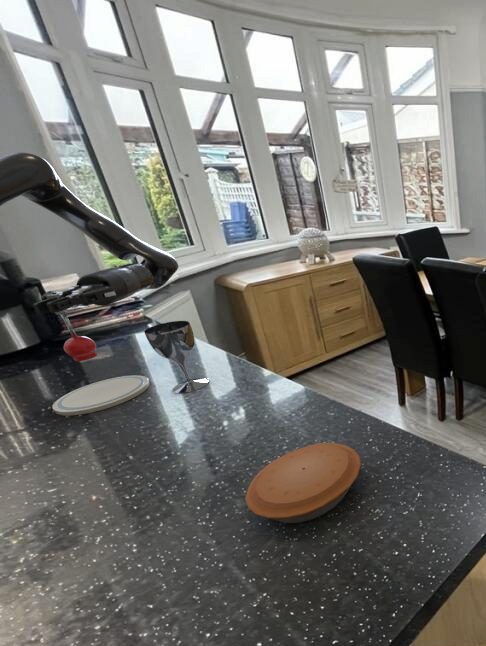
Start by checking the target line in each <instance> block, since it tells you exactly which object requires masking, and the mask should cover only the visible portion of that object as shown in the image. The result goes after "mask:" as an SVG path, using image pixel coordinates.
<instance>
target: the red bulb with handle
mask: <svg viewBox="0 0 486 646" xmlns="http://www.w3.org/2000/svg"><path fill="white" fill-rule="evenodd" d="M46 296H47V298H48V300H49V302H51V301H54V300H57V299H60V298H61V297H60V295H59V294H50V295H46ZM67 313H69V310H68V309H65V310H63V311H60V312H57V313H55V315H58V314H59V315H60V317H61V318H62V320H63V322H64V324H65V326H66V328H67V330H68V331H69V334H70V335H71V337H70V338H69V339H67V340H66V341H65V342H64V344H63V350H64V353H66V355H68V356H70V357H72V359H73V361H74V362H83V361H88V360H91V359H93V358H96V357H97V356H98V353H97V351H96V350H97V343H96V342H95V341H94V340H93V339H92V338H90V337H88V336H85V335H78V334H77V332H76V331H75V329H74V327H73V325H72V324H71V322H70V320H69V318H68V316H67Z"/></svg>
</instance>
